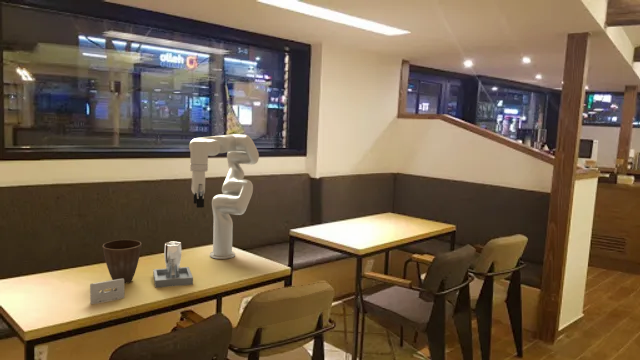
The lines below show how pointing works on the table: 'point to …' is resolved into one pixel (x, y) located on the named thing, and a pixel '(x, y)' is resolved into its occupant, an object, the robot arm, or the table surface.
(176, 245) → the beer glass
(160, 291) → the table surface
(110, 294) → the cassette
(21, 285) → the table surface
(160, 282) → the serving tray
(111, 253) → the plant pot
